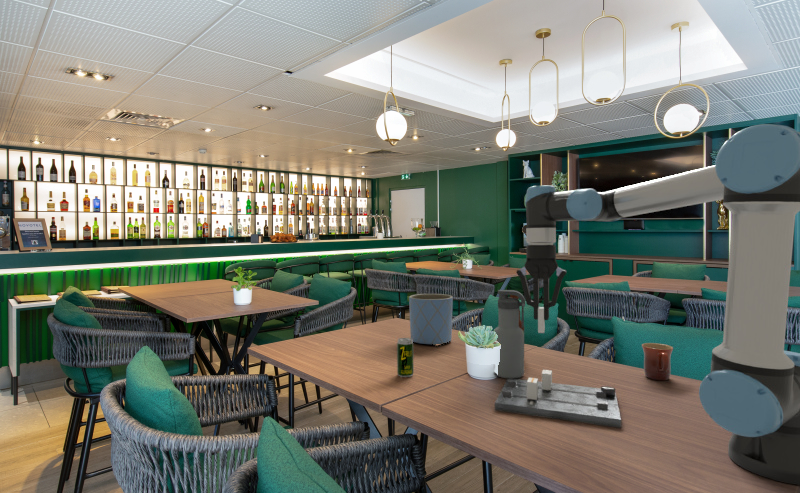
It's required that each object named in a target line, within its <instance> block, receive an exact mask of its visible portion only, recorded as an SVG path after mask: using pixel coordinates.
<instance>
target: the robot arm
mask: <svg viewBox="0 0 800 493" xmlns="http://www.w3.org/2000/svg"><path fill="white" fill-rule="evenodd" d="M714 164H715V165H711V166H710V165H709V166H706V167H702V168H698V169H693V170H690V171H685V172H682V173H678V174H677V173H676V174H674V175H669V176H665V177H662V178H661V177H660V178H657V179H652V180H649V181H645V182H640V183H636V184H632V185H627V186H624V187H619V188H615V189H612V190H606V191H602V192H601V191H597V190H596V189H594V188H577V189H574V190H572V189H571V190H564V191H557V190H556V187H555V186H554V185H548V184H547V185H544V184H543V185H533V186H530V187H528V188H527V190H526V195H525V196H526V198H525V211H526V212H525V216H526V230H525V231H526V232H525V233H526V237H525V238H526V243H527V244H528V245H526V252H525V253H526V260H525V262H524V266H523V267H522V268H520V269H517V270H516V275H517V276H518V278H519V279H520V283H521V286H522V290H523V291H522V292H523V293H524V295H523V296H524V298H525V304H526V305H528V306H531V307H532V308H533V320H535V321H537V332H538V334H545V330H546V327H545V326H546V325H545V323H546V322H545V321H549V318H550V308H552V307H555V306H556V304H557V301H558V298H559V293H560V289H561V285H562V282H563V281H562V280H563V279H564V277H565V276H566V275H567V270H566V269H563V268H561V267H559V265H558V262H557V246H556V245H555V243H556V242H557V239H556V238H557V234H556V233H557V232H556V231H557V228H556V227H557V226H556V224H557V222H562V221H563V222H567V221H573V222H575V221H579V222H580V221H581V222H587V221H589V222H593V221H595V222H606V223H607V222H616V221H619V220H621V219H623V218H628V217H633V216H639V215H643V214H649V213H654V212H656V213H657V212H660V211H666V210H671V209H678V208H683V207H687V206H694V205H699V204H700V205H701V204H704V203H710V202H715V201H721V200H723V202H722V205H723V206H724V207H725V208H726V209H727V210H728V211H730V213H731V215H732V216H731V217H732V218H731V232H730V242H729V243H730V244H729V255H728V256H729V257H728V258H729V259H728V269H727V270H728V271H727V283H726V296H725V297H726V299H725V309H724V310H725V311H724V321H723V322H724V325H723V336H722V337H723V338H722V342H721V344H719V345H717V346H715V347H713V348H712V351H711V363H710V373H708V374H707V375H705V376H704V377H703V380H702V381H701V382H700V385H699V389H698V390H699V391H698V396H699V401H700V404H701V405H702V408H703V410H704V411H705V413H706V414H707V415H708V416H709V417H710V418H711V420H712V421H713V422H714V423H716V424H717V425H718V426H720V428H722V429H724V430H726V431H728V432H730V433H731V434H732V435H731V437H730V438H729V441H728V444H727V446H728V447H727V448H728V451H727V452H728V456H729V458H730V460H731V461H732V462H733V463H735V464H736V465H738V466H739V467H741V468H742V469H745V470H747V471H749V472H751V473H753V474H755V475H758V476H761V477H764V478H767V479H769V480H774V481H777V482H780V483H785V484H790V485H797V486H799V485H800V352H796V351H795V352H794V351H789V350H785V341H786V330H787V329H786V328H787V317H788V316H787V315H788V303H789V302H788V301H789V294H790V283H791V282H790V281H791V269H792V258H793V257H792V256H793V246H794V245H793V244H794V234H795V233H794V232H795V224H796V223H795V222H796V215H797V214H798V213H799V212H800V131H797V130H796V129H794V128H792V127H790V126H788V125H782V124H774V123H773V124H771V123H767V124H766V123H762V124H756V125H751V126H749V127H745V128H743V129H741V130H739V131H737V132H736V133H734V134H733V135H732V136H730V137H729V139H727V140H726V141H725V142H724V143H723V145H722V146H721V147H720V149H719V150H718V153H717V155H716V158H715V163H714ZM527 272H528V274H529V275H530V277H531V278H533V279H532V281H533V284H532V285H533V291H532V292H533V296H531V291H530V288H529V284H528V280H527V277H526V275H527ZM555 272H556V276H557V278H556V282H555V284H554V289H553V294H552V297H551V300H550V284H549V283H550V278H551V277H552V276H553V275H554V273H555ZM540 279H542V282H543V287H542V288H543V306H540ZM532 297H533V298H532Z"/></svg>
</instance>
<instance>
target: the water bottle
mask: <svg viewBox="0 0 800 493" xmlns="http://www.w3.org/2000/svg"><path fill="white" fill-rule="evenodd" d="M497 294H498V299H497V309H498V326H497V327H495V328H494V330H493V332H494V331H495V332H496V333H497V335H498V338H497V341H498V342H499V343H500V344H501V349H500V362H499V365H498V376H497V377H499V378H502V379H506V380H507V379H508V378H512V379H520V378H522V377H523V376H524V374H525V331H524V332H523V330H522V329H521V328H519V309H520V307H521V321H522V328H524V329H525V323H524V322H525V320H524V317H525V316H524V314H525V306H526V299H525V295H523V294H522V293H521V292H520V291H518V290H513V289H498V290H497ZM510 295H515V296H517V297H518V298H519V299H516V298H510Z"/></svg>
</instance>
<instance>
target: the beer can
mask: <svg viewBox="0 0 800 493" xmlns="http://www.w3.org/2000/svg"><path fill="white" fill-rule="evenodd" d="M396 350H397V351H396V353H397V355H396V356H397V357H396V360H397V361H396V363H397V366H396V367H397V368H396V370H397V376H398V377H399V376H400V377H399V378H402V377H409V378H411V376H412V377H413V376H414V372H415V370H414V343H413V339H411V337H402V338H398V339H397V343H396Z"/></svg>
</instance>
